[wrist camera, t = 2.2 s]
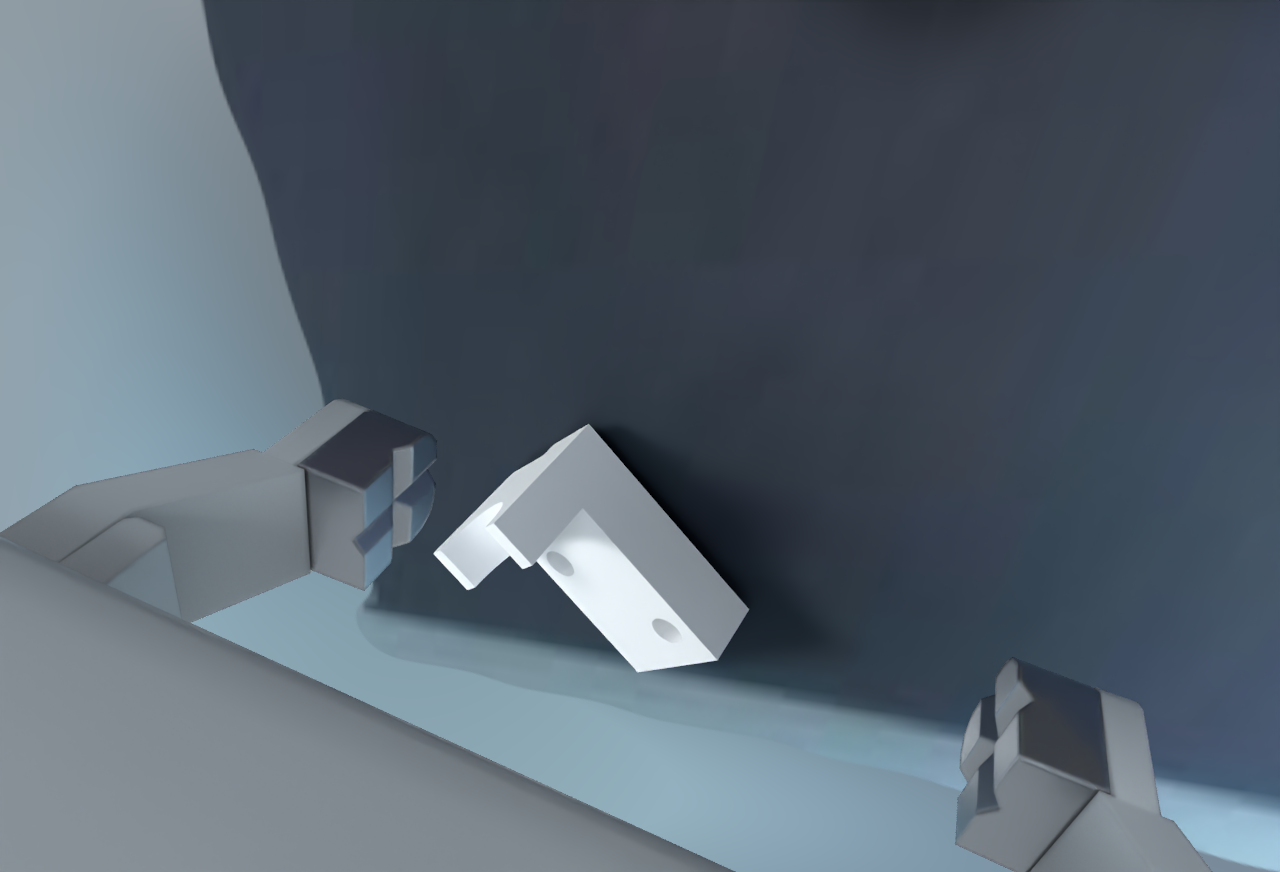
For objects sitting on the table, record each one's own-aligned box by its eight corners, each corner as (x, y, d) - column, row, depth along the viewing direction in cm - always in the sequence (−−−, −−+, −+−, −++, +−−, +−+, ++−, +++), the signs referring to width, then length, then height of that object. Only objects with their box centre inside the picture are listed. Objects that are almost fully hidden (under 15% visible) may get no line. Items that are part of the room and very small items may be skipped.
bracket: (523, 462, 49) (433, 553, 44) (588, 423, 43) (493, 523, 39) (669, 626, 51) (598, 729, 46) (749, 609, 46) (677, 724, 41)
